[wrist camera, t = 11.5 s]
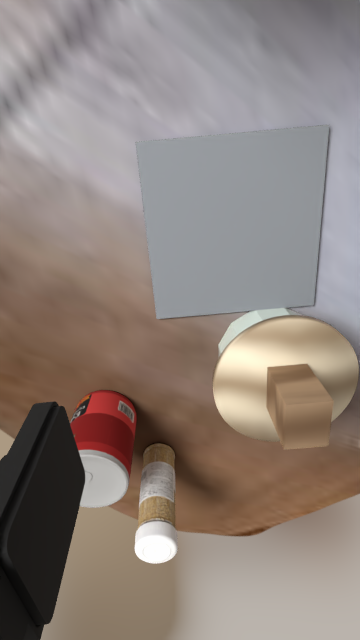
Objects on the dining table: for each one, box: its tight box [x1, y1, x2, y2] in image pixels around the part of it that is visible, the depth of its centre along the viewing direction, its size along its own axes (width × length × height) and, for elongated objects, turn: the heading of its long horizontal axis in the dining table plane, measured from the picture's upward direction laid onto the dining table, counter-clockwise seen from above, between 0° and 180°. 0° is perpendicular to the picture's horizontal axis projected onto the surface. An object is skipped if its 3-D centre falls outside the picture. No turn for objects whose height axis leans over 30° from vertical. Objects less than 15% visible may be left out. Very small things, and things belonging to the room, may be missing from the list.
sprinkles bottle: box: [135, 443, 177, 563], centre depth 42 cm, size 5×5×14 cm
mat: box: [136, 125, 329, 319], centre depth 35 cm, size 18×18×1 cm
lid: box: [212, 315, 359, 450], centre depth 33 cm, size 15×15×7 cm
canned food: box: [70, 390, 137, 508], centre depth 40 cm, size 8×8×11 cm
